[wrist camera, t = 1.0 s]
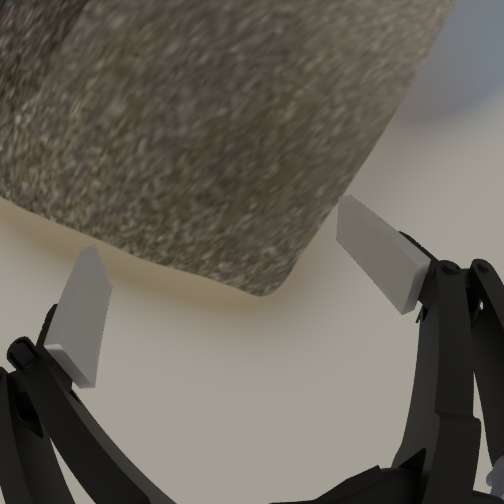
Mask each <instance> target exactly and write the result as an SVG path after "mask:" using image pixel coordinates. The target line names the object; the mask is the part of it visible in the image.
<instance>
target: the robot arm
mask: <svg viewBox="0 0 504 504" xmlns="http://www.w3.org/2000/svg"><path fill="white" fill-rule="evenodd" d="M336 240H337V241H338V242H339V244H340V245H341V246H342V247H343V248H344V249H345V250H346V251H347V252H348V253H349V254H350V255H351V257H352V258H353V259H354V260H355V261H356V262H357V263H358V264H359V266H360V267H361V268H362V269H363V270H364V271H365V272H366V273H367V274H368V276H369V277H370V278H371V279H372V280H373V282H374V283H375V284H376V285H377V286H378V287H379V288H380V290H381V291H382V292H383V293H384V294H385V295H386V297H387V298H388V299H389V300H390V301H391V303H392V304H393V305H394V306H395V307H396V309H397V310H398V311H399V312H400V314H401V315H403V314H406V313H408V312H410V311H413V310H414V309H415V306H416V303H417V301H418V300H419V301H420V302H421V303H422V304H423V305H422V307H421V310H420V312H419V315H418V318H417V320H416V323H418V321H419V319H420V328H419V341H418V352H417V362H416V370H415V378H414V385H413V391H412V398H411V403H410V408H409V414H408V418H407V423H406V428H405V432H404V436H403V440H402V444H401V446H400V448H399V450H398V452H397V453H396V455H395V458H394V460H393V463H392V466H391V468H383V469H380V467H379V465H377V466H375V467H373V468H371V469H368V470H366V471H364V472H362V473H360V474H357V475H355V476H353V477H351V478H348V479H346V480H345V481H343V482H342V483H340V484H339V485H337V486H336V487H334V488H333V489H331V490H330V491H328V492H327V493H325V494H323V495H322V496H320V497H318V498H317V499H314V500H309V501H298V502H280V503H270V504H504V285H503V283H502V281H501V279H500V278H499V276H498V275H497V273H496V271H495V269H494V268H493V266H492V265H491V264H490V263H488V262H487V261H485V260H483V259H474V260H473V261H472V264H471V266H470V268H468V269H461V268H460V267H459V266H458V265H457V264H455V263H454V262H451V261H448V260H441V261H439V260H437V259H436V258H435V257H434V256H433V255H432V254H430V253H429V252H428V251H427V250H426V249H425V248H423V247H421V245H420V244H419V243H418V242H416V241H415V240H414V239H413V238H411V237H410V236H409V235H407V234H405V233H403V232H401V231H399V232H398V231H397V230H395V229H394V228H393V227H391V226H390V225H389V224H388V223H387V222H385V221H384V220H383V219H382V218H380V217H379V216H378V215H376V214H375V213H374V212H373V211H371V210H370V209H369V208H367V207H366V206H365V205H363V204H362V203H361V202H359V201H357V199H355V198H354V197H352V196H351V195H348V196H342V197H339V205H338V224H337V238H336ZM111 291H112V284H111V282H110V280H109V277H108V275H107V273H106V271H105V268H104V266H103V264H102V261H101V259H100V256H99V254H98V251H97V249H96V246H95V245H92V246H88V247H84V248H83V249H82V250H81V253H80V254H79V257H78V259H77V261H76V263H75V265H74V267H73V270H72V272H71V274H70V276H69V279H68V281H67V283H66V286H65V288H64V290H63V293H62V295H61V298H60V300H59V303H58V304H54V305H53V306H52V308H51V309H50V310H49V312H48V313H47V316H46V318H45V323H44V324H43V326H42V330H41V332H40V335H39V338H38V340H37V343H36V346H35V345H34V344H33V343H32V342H31V340H30V339H29V338H28V337H25V336H24V337H20V338H18V339H16V340H15V341H14V342H13V343H12V344H11V345H10V347H9V349H8V351H7V360H8V361H9V362H10V363H11V364H12V365H13V366H14V368H16V371H13V372H11V373H8V372H7V371H6V370H5V369H4V368H3V367H0V486H1V490H2V493H3V497H4V500H5V503H6V504H75V502H74V500H73V498H72V495H71V493H70V491H69V489H68V486H67V484H66V482H65V479H64V477H63V474H62V472H61V469H60V466H59V464H58V461H57V458H56V455H55V453H54V449H53V446H52V443H51V440H52V442H53V443H54V445H55V447H56V448H57V450H58V452H59V453H60V455H61V456H62V458H63V459H64V461H65V463H66V464H67V466H68V467H69V469H70V470H71V472H72V473H73V474H74V476H75V477H76V479H77V480H78V481H79V483H80V484H81V485H82V487H83V488H84V490H85V491H86V492H87V493H88V495H89V496H90V497H91V498H92V500H93V501H94V502H95V503H96V504H176V503H175V502H174V501H173V500H172V499H170V498H169V497H168V496H167V495H166V494H164V493H163V492H162V491H161V490H160V489H159V488H158V487H157V486H155V485H154V484H153V483H152V482H151V481H150V480H149V479H148V478H147V477H146V476H145V475H144V474H143V473H142V472H141V471H140V470H139V469H138V468H137V467H136V466H135V465H134V464H133V463H132V462H131V461H130V460H129V459H128V458H127V457H126V456H125V454H124V453H123V452H122V451H121V450H120V449H119V448H118V447H117V446H116V445H115V443H114V442H113V441H112V440H111V439H110V437H109V436H108V435H107V434H106V433H105V432H104V430H103V429H102V428H101V427H100V425H99V424H98V423H97V422H96V420H95V419H94V418H93V416H92V415H91V414H90V413H89V411H88V410H87V408H86V407H85V406H84V404H83V403H82V401H81V400H80V399H79V397H78V396H77V394H76V393H75V392H74V391H73V390H72V389H71V387H72V382H74V383H75V384H76V385H77V386H78V387H79V388H95V383H96V374H97V367H98V359H99V353H100V347H101V341H102V335H103V330H104V324H105V319H106V314H107V309H108V305H109V300H110V296H111ZM481 302H483V309H481V307H480V304H481ZM474 374H475V378H476V382H477V387H478V391H479V396H480V401H481V406H482V412H483V418H484V425H485V432H486V440H487V446H488V452H489V456H490V460H491V463H492V467H493V469H492V471H491V472H490V473H489V474H488V475H487V477H486V483H487V485H488V486H492V489H491V493H490V494H487V493H483V492H479V491H475V490H473V485H474V481H475V475H476V470H477V463H478V456H479V449H480V439H481V422H480V420H479V419H478V418H475V417H474V416H473V399H474V398H473V397H474V395H473V394H474ZM49 436H50V437H49ZM50 438H51V440H50Z"/></svg>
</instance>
